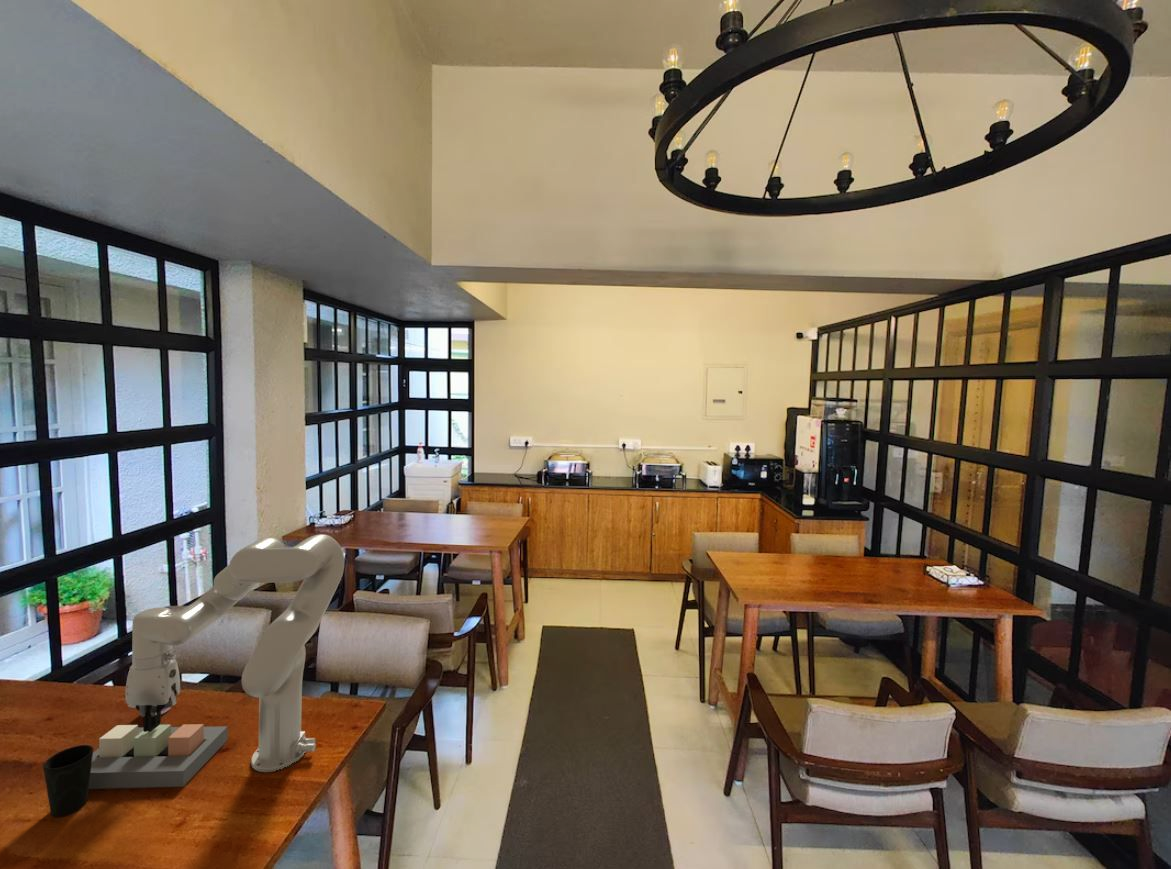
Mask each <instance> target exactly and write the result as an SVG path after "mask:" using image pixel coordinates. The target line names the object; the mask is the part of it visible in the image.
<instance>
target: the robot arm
mask: <svg viewBox="0 0 1171 869" xmlns="http://www.w3.org/2000/svg"><path fill="white" fill-rule="evenodd" d="M344 569H345V555H344V551H343V549H342V547H341V545H340V543H339V542H338V541H337V540H336V539H335V538H334V537H332V536H331V535H328V534H321V533H320V534H315V535H311V536H309V537H307V538H305V539H304V540H302V541H300V542H299V543H298V544H296V545H295V546H293V547H286V546H285V544H284V543H283V542H282V541H281V540H279V539H277V538H275V537H265V538H261V539H257V541H254V542H252V543H250V544H248V545H247V546H245V547H243V548H241V549H239V550H238V551H237V552H236V553H235V554H234V555H233V556H232V558H231V560H230V562H229V564H228V565H227V566H225V568H223V569H222V570H220V572H218V573H217V574H216V576H215V577H214V578H213V586H211V588H210V589H208V590H207V591H206V592H205V593H204V594H202V595H201V596H200V597H199V598H198V599H196V600H195V601H194V602H192V603H191V604H189V605H188V606H186V607H184V608H183V609H181V610H179V611H177V612H175V613H173V611H172V609H170V608H169V607H161V606H160V607H153V608H149V609H146V610H143V611H140V612H138V613H137V614H136V615H135V616H134V617H133V619H132V623H131V625H132V627H131V628H132V636H131V637H132V639H131V640H132V642H131V643H132V644H131V647H132V649H131V652H132V657H131V658H132V659H131V661H132V662H131V663H132V664H131V666H130V667H129V671H128V672H127V678H126V684H125V702H126V704H127V707H128V708H133V709H136V710H137V711H138V712H139V715H140V717H142V718H143V719H142V725H143V726H142V727H143V731H144V732H147V731H148V732H151V731H153V730H154V729H155V728H156V727H157V726H159V725H161V722H162V714H161V710H163V709H164V708H169V707H171V708H172V707H173V706H175V705H176V704H177V698H176V696H178V695H180V692H181V678H180V670H179V666H178V662H177V660H176V658H177V654H176V653H173V646H181V645H185V644H186V643H188V642H189V641H191V640H193V639H194V638H196V636H198V635H199V634H200V633H202V632H203V631H204V630H206V629H207V628H209V627H210V626H212V625H213V624H215V622H217V621H218V620H219V619H220V618H221V617H222V616H224V615H225V614H226V613H227V612H228V611H229V610H230V609H231V608H232V607H234V606H235V605H236V603H238V602H239V601H240V600H242V599H243V598H244V597H245V596H246V595H248V593H249V592H251V591H252V590H253V589H254V588H255V587H256V586H257V585H259V583H260V584H266V583H267V584H269V583H290V582H291V583H292V582H293V583H294V582H300V581H302V582H301V584H300V585H299V588H298V589H297V591H296V593H295V595H294V597H293V599H292V601H291V602H290V604H289V606H288V607H287V608H286V609H285V610H284V611H283V612H282V613H281V614H279V616H278V617H276V619H274V620H273V621H272V622H271V623H270V624H269V625H268V627H267V628H266V629H265V631H264V632H263V634H262V635H261V637H260V639H259V640H258V643H257V645H256V646H255V648H254V650H253V651H252V654H251V656H250V658H249V659H248V661H247V663H246V665H245V666H244V669H243V672H242V674H241V686H242V689H243V690H244V692H245V693H246V694H247V695H248V696H250V697H252V698H259V701H258V748H257V749H256V750H255V751H254V753H253V754H252V755H251V760H250V762H251V763H250V765H251V767H252V769H254V770H255V771H257V772H260V773H273V772H277V771H276V770H278V771H280V770H279V769H281V770H283V768H284V767H286V768H288V767H290V766H292V765H293V764H292V763H294V762H295V763H297V762H298V761H299V760H300V759H302V757H304V755H305V754H306V753H308V752H309V753H310V752H311V753H312V752H314V751H315V749H316V747H317V744H316V738H315V737H307V736H306V731H305V730H302V710H303V709H302V702H303V700H302V697H303V696H302V694H303V678H304V677H303V676H304V669H305V662H306V647H305V644H306V643H307V642H308V641H310V639H311V637H312V636H313V635H314V634H315V633H316V631H317V630H318V628H319V625H320V623H321V620H322V619H323V617H324V615H325V613H326V610H327V609H328V607H329V605H330V603H331V601H332V599H333V597H334V595H335V593H336V591H337V589H338V587H339V585H340V582H341V580H342V578H343V574H344ZM304 753H305V754H304ZM296 761H297V762H296ZM295 763H294V764H295ZM291 764H292V765H291ZM289 765H290V766H289ZM287 766H288V767H287ZM284 769H285V768H284Z"/></svg>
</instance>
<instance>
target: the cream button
mask: <svg viewBox="0 0 1171 869" xmlns="http://www.w3.org/2000/svg"><path fill="white" fill-rule="evenodd" d="M138 728H139V725H138V724H120V725H119V724H118V725H117V724H116V725H115V726H114V727H112V729H111V730H109V731H107V732H106V733H105V734H103V735H102V736H101V737H99V738H98V739H99V740H98V747H99V748H98V749H99V757H125V756H126V755H125V754H126V753H127V752H128V751H130V750H131V749H132V748H133V747H134V738H135V737H136V736H137V735H138Z"/></svg>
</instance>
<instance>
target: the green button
mask: <svg viewBox="0 0 1171 869" xmlns="http://www.w3.org/2000/svg"><path fill="white" fill-rule="evenodd" d="M171 727H172V724H160V725H159V726H157V727H156V728H155V729H154V730H153V731H151V732H148V731H147V732H144V731H142V732H141V733H140V734H139V735H137V736H136V737H135V738H134V755H133V757H155V756H158V754H159V753H160V752H162V751H163V750H164V749H165V748H166V747H167V746H168V738H169V737H170V736H171Z"/></svg>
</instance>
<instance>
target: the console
mask: <svg viewBox="0 0 1171 869" xmlns="http://www.w3.org/2000/svg"><path fill="white" fill-rule="evenodd" d="M180 727H181V726H171V735H172V734H173V733H174V732H175V731H176V730H178V729H179V728H180ZM228 727H229V726H223V725H222V726H220V725H219V726H204V743H202V744H201V745H200V746H199V747H198V748H197V749H196V750H195V751H194V752H193V753H192V754H191V755H190V756H168V746H167V747H166V748H165V749H164V750H163V751H162V752H160V753H159V754H158V755H160V756H158V755H157V756H155V757H134V747H133V748H132V749H131V750H130V751H128V752H127V753H126V754H125V755H124V756H122V757H99V748H97V749H96V750H94V751H93V756H92V764H91V773H90V781H89V789H88V790H96V789H97V790H99V789H101V790H102V789H105V790H106V789H135V788H136V789H137V788H138V789H139V788H141V789H142V788H144V789H145V788H149V789H150V788H180V787H181V788H183V787H185V786H186V785H187V783H189V781H190V780H191V779H192V778H193V777H194V776H195V775H196V774H198V772H199V771H200V770H201V769H202V768H203V766H205V765H206V764H207V763H208V761H210V759H211V758H212V757H214V755H215V754H216V753H217V752H218V751H219V750H220V749H221V748H222V747H223V745H225V743H226V742H228V738H229V736H228V735H229V734H228V731H229V728H228ZM142 731H143V726H142V727H138V735H139V734H140V733H141V732H142ZM161 755H163V756H161ZM164 755H166V756H164Z"/></svg>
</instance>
